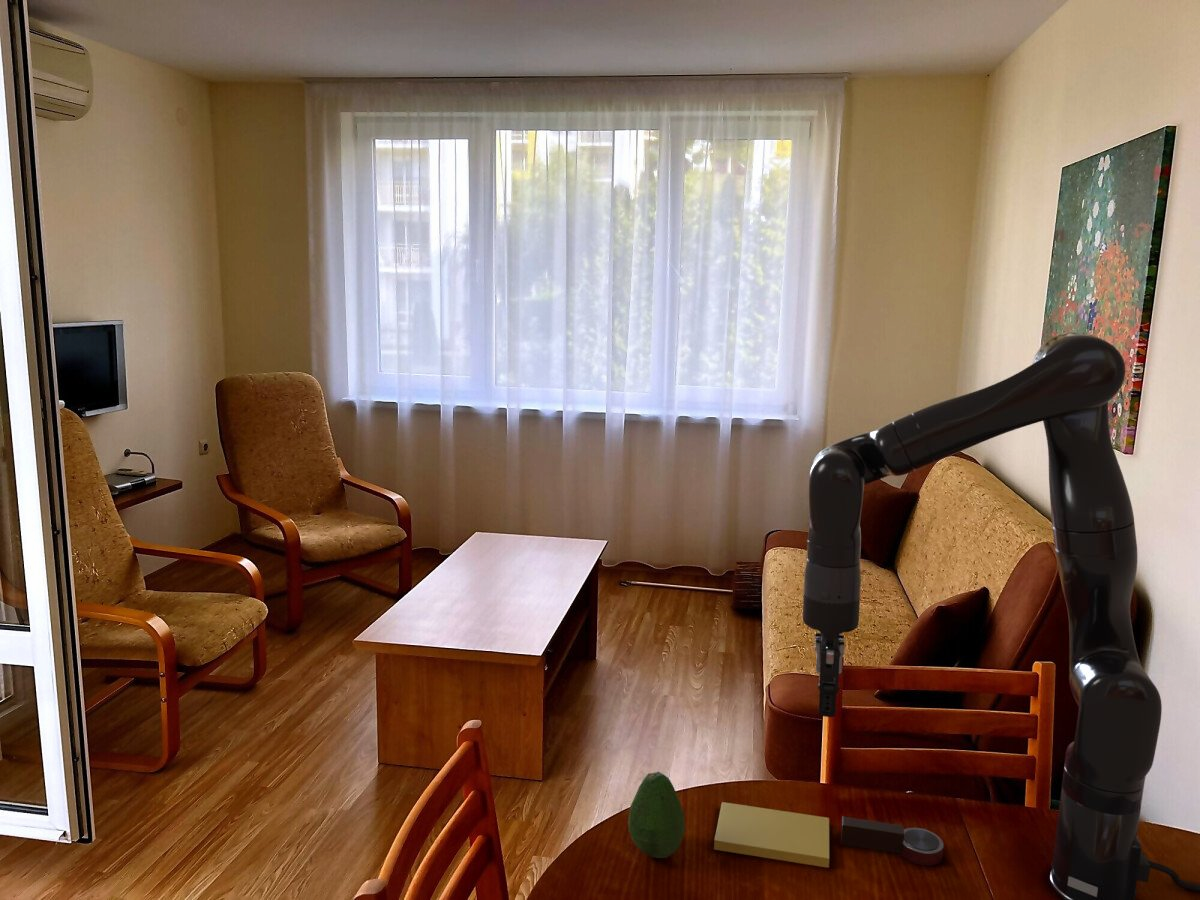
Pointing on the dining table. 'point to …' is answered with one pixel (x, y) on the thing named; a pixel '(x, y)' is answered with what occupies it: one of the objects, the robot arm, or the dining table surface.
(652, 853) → the avocado
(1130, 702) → the robot arm
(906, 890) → the dining table surface
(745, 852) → the board
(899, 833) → the frying pan
